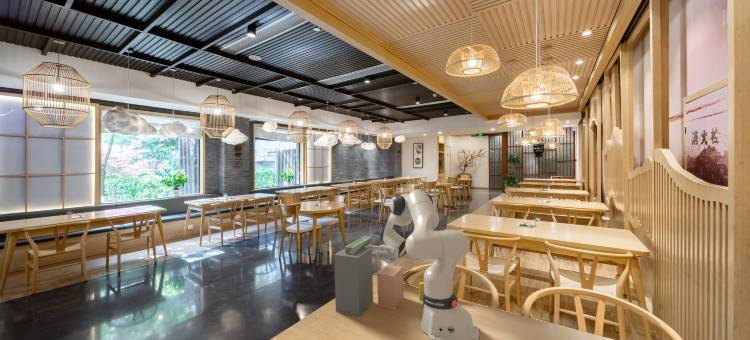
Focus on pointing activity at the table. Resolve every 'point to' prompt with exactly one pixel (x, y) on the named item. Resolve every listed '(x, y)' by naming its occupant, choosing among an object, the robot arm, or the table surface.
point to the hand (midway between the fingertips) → (374, 247)
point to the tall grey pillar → (353, 281)
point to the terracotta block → (390, 286)
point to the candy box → (421, 289)
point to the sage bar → (358, 245)
